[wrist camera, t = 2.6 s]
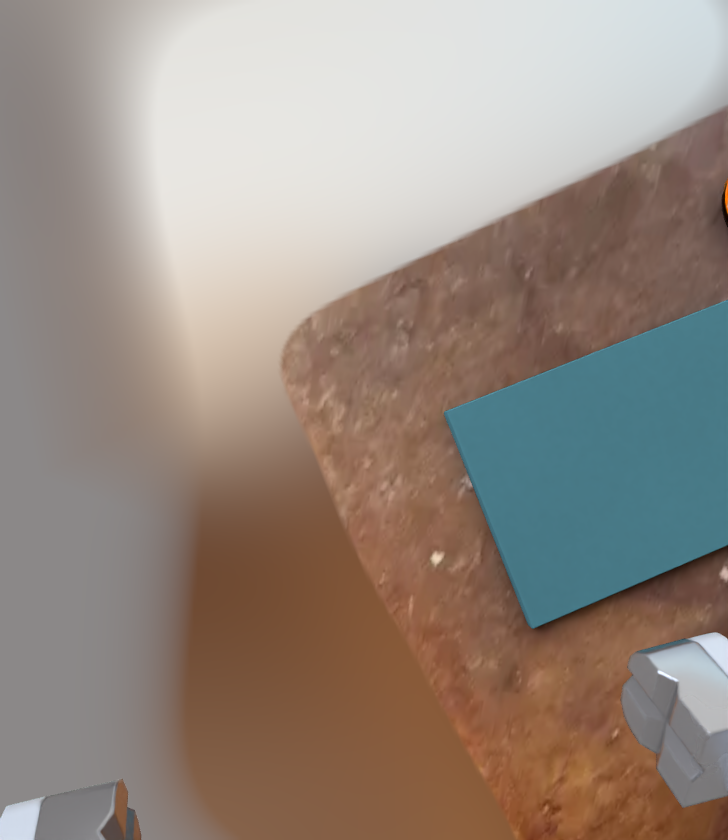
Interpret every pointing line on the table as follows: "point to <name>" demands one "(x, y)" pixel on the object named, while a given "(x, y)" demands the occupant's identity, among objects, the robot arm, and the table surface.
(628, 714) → the robot arm
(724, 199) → the toy car
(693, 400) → the mat
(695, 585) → the table surface
